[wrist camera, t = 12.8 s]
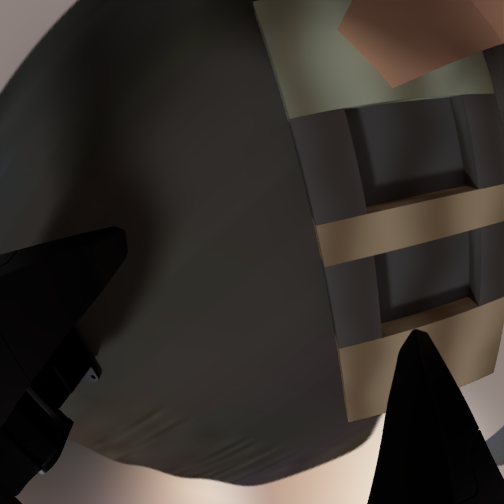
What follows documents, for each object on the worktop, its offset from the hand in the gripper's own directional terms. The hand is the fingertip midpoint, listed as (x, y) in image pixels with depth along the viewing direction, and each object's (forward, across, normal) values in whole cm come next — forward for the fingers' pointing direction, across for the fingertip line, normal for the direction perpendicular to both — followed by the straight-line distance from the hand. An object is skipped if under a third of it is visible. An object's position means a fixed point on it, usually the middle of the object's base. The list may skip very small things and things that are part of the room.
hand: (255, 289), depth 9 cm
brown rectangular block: (+13, -2, -9) cm, 16 cm away
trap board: (+13, -7, +1) cm, 15 cm away
